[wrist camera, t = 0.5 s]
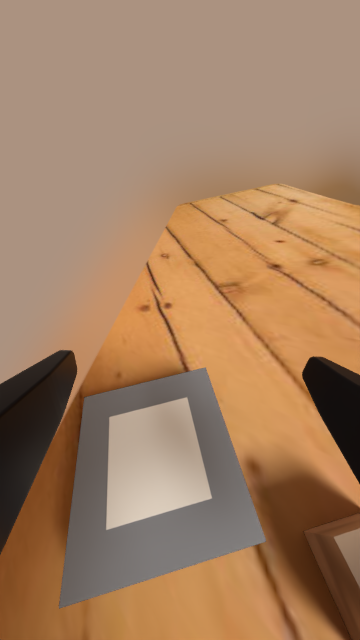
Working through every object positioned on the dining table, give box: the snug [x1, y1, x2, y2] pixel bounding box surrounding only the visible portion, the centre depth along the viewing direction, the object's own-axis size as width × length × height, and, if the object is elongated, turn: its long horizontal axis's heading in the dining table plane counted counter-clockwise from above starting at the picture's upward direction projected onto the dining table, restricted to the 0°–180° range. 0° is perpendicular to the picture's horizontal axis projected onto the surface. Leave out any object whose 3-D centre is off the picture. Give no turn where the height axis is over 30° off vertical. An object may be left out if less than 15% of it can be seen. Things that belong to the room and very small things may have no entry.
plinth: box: [59, 367, 266, 608], centre depth 17 cm, size 12×12×4 cm
